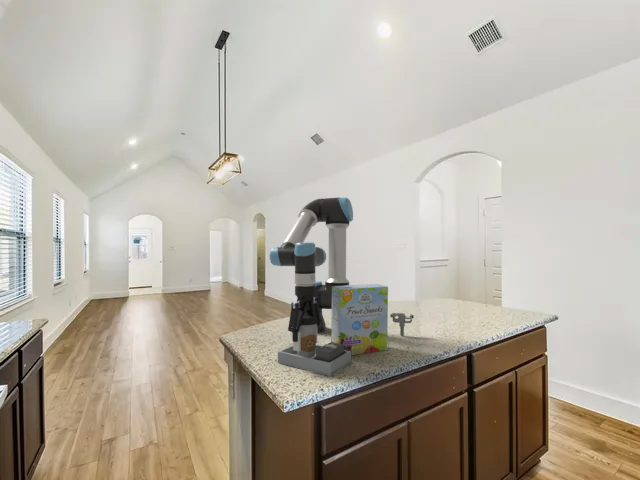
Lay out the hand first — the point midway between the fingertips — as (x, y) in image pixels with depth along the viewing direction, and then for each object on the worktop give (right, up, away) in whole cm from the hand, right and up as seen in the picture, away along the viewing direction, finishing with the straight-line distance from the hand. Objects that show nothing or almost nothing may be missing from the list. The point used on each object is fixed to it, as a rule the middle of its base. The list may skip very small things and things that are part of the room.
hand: (305, 346), depth 117 cm
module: (+9, -5, -6) cm, 12 cm away
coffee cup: (0, -4, 0) cm, 4 cm away
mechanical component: (+43, -5, +30) cm, 53 cm away
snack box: (+21, -5, +10) cm, 24 cm away
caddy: (+3, -5, -2) cm, 6 cm away
